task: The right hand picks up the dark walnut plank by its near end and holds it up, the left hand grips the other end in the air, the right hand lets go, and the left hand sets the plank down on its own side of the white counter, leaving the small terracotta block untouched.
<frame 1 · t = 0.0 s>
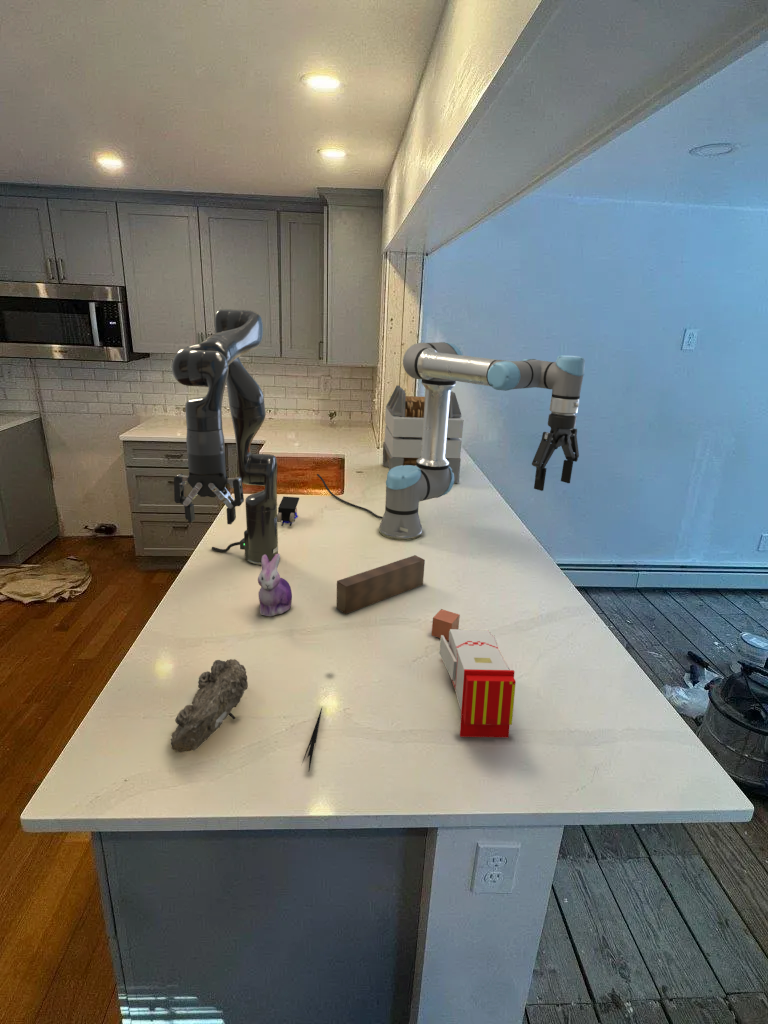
left hand: (210, 522, 123), 29 cm above the counter, fingers open, 8 cm apart
right hand: (552, 485, 166), 28 cm above the counter, fingers open, 13 cm apart
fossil: (215, 716, 108), on the counter
toy: (471, 691, 119), on the counter
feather: (319, 719, 109), on the counter
terracotta block: (444, 633, 139), on the counter
figurine: (275, 608, 147), on the counter
plank: (381, 595, 156), on the counter
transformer: (418, 473, 275), on the counter
figurine character: (288, 521, 206), on the counter
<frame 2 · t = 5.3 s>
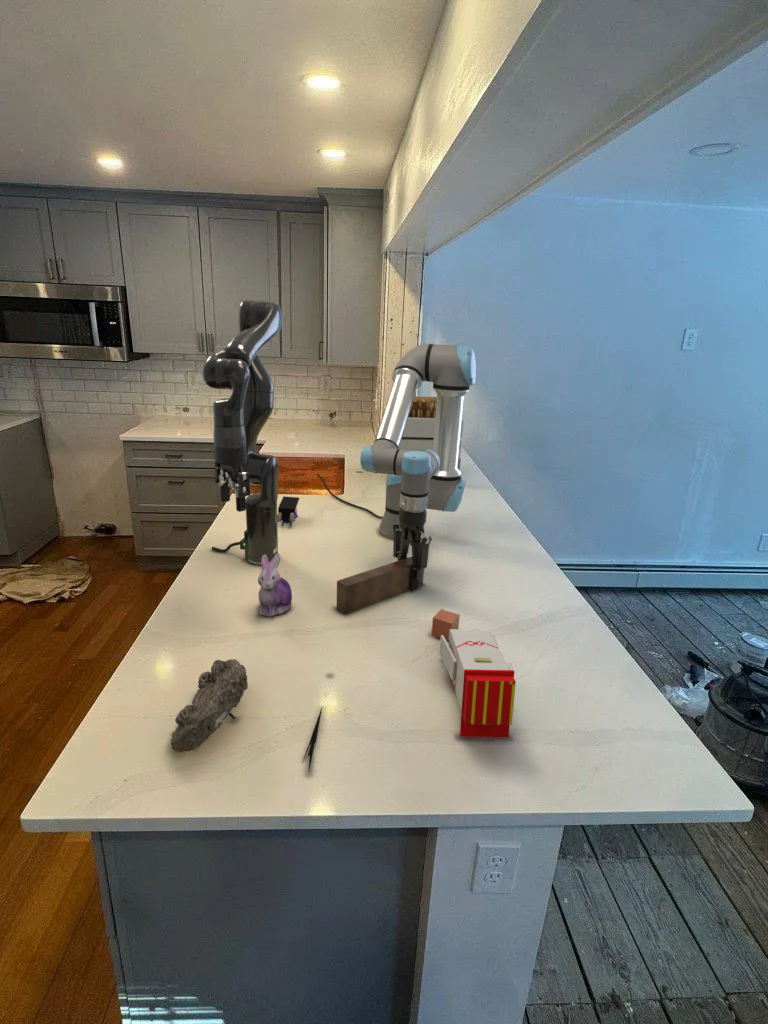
left hand: (233, 506, 143), 26 cm above the counter, fingers open, 8 cm apart
right hand: (408, 585, 162), 0 cm above the counter, fingers closed on plank, 4 cm apart
plank: (381, 595, 156), on the counter, touching right hand
everything else where it was.
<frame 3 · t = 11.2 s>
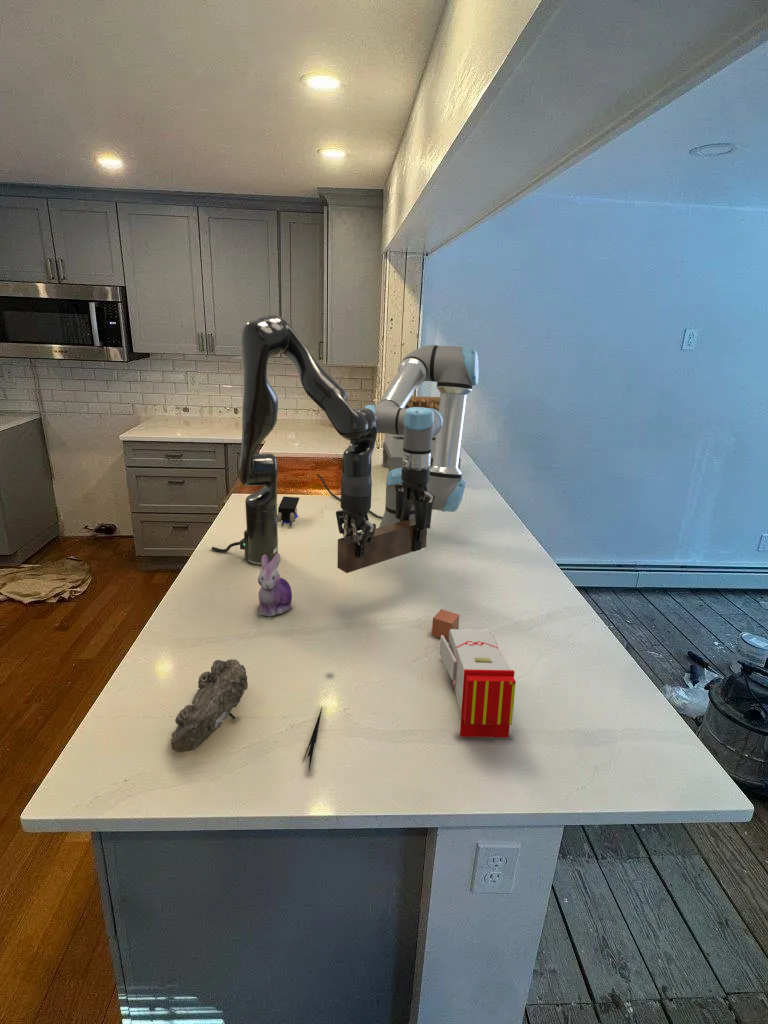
left hand: (354, 554, 145), 15 cm above the counter, fingers closed on plank, 4 cm apart
right hand: (410, 547, 159), 12 cm above the counter, fingers closed on plank, 4 cm apart
plank: (383, 557, 153), point 12 cm above the counter, touching right hand, left hand
everything else where it was.
when the right hand's fingers open (12 cm above the counter, at t = 11.9 s): plank stays where it is, held by the left hand.
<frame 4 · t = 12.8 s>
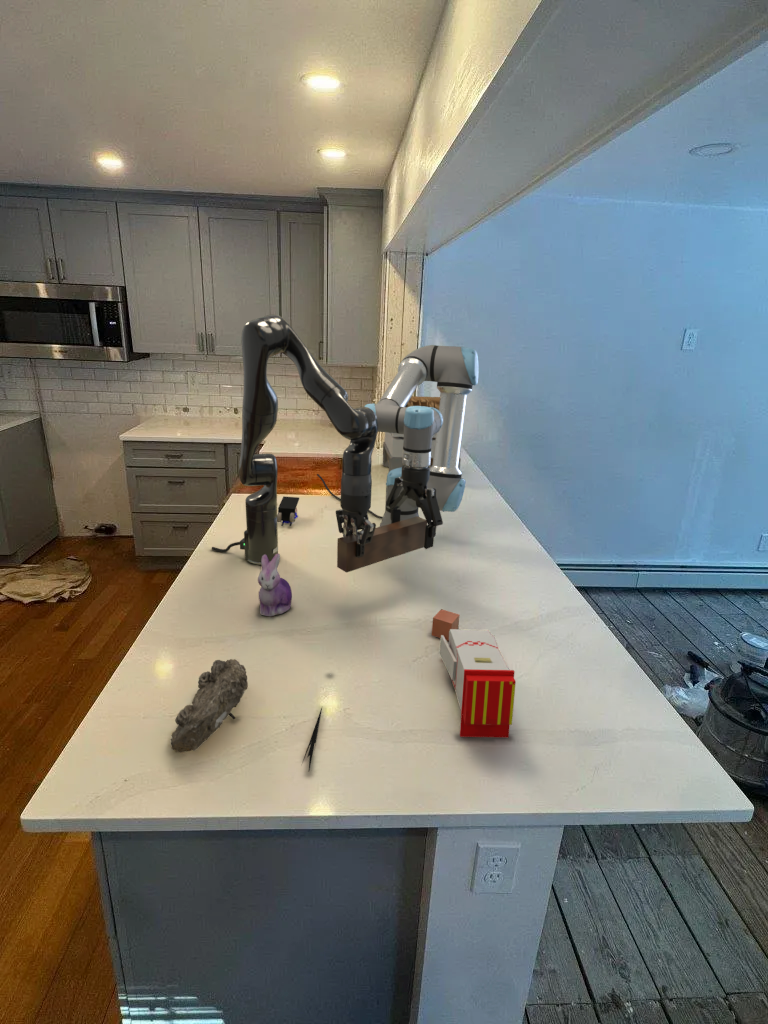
left hand: (354, 553, 145), 15 cm above the counter, fingers closed on plank, 4 cm apart
right hand: (411, 539, 158), 14 cm above the counter, fingers open, 13 cm apart
plank: (383, 556, 153), point 12 cm above the counter, touching left hand
everything else where it was.
when the left hand's fingers open (5 cm above the counter, at t = 22.7 s): plank drops 1 cm, on the counter.
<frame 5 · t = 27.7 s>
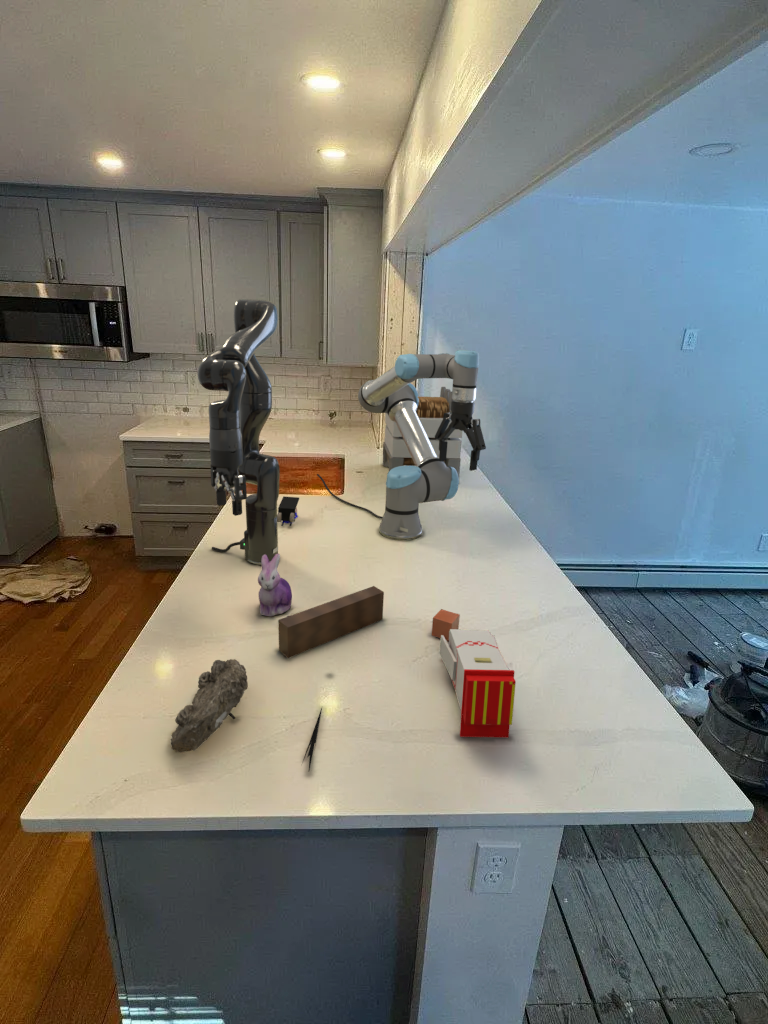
left hand: (229, 509, 140), 26 cm above the counter, fingers open, 8 cm apart
right hand: (457, 465, 188), 27 cm above the counter, fingers open, 13 cm apart
plank: (333, 634, 137), on the counter
everything else where it was.
at the end: plank inside the target area (0.1 cm from its centre), on the counter; both hands held the plank at the same time; the left hand is holding nothing; the right hand is holding nothing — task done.
